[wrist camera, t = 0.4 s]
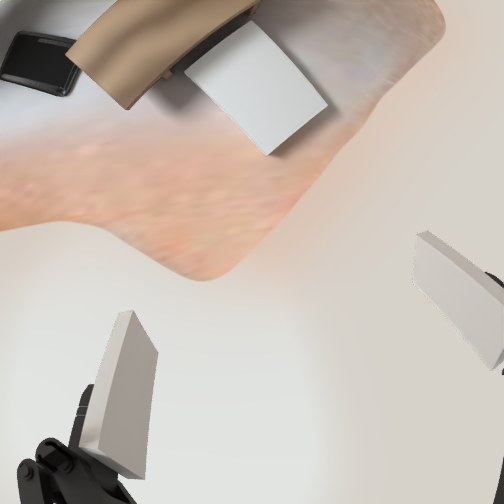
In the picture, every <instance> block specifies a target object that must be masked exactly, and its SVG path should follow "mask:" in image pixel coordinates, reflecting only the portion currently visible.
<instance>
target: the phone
mask: <svg viewBox="0 0 504 504" xmlns="http://www.w3.org/2000/svg"><path fill="white" fill-rule="evenodd" d="M76 41H77V40H76ZM76 41H75V40H73V39H67V38H64V37H56V36H51V35H46V34H39V33H33V32H26V31H20V32H18V33H17V34H16V35H15V37H14V39H13V41H12V43H11V45H10V47H9V49H8V52H7V54H6V56H5V59H4V61H3V63H2V66H1V68H0V80H3V81H7V82H11V83H15V84H18V85H22V86H25V87H29V88H32V89H35V90H39V91H42V92H45V93H48V94H52V95H55V96H59V97H63V96H65V95H66V94H67V93H68V92H69V90H70V88H71V86H72V83H73V81H74V79H75V77H76V74H77V72H78V70H79V67H78V66H77V65H76V64H75V63H74V62H73V61H71V60H70V59H69V58H68V57H67V56H66V55H65V54H66V53H67V52H68V50H69V49H70V48H71V47H72V46H73V45H74V44H75V42H76Z"/></svg>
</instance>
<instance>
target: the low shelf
mask: <svg viewBox="0 0 504 504" xmlns="http://www.w3.org/2000/svg"><path fill="white" fill-rule="evenodd" d="M260 2H261V0H118V1H117V2H115V3H114V4H113V5H112V6H111V7H110V8H109V9H108V10H107V11H106V12H104V13H103V14H102V15H101V16H100V17H99V18H98V19H97V20H96V21H95V22H94V23H93V24H92V25H91V26H90V27H89V28H88V29H87V30H86V31H85V33H84V34H83V35H82V36H81V37H80V38H79V39H78V40H77V41H76V42H75V44H74V45H73V46H72V47H71V48H70V49H69V50H68V52H67V53H66V54H65V55H66V56H67V57H68V58H69V59H70V60H71V61H73V62H74V63H75V64H76V65H77V66H78V67H79V68H80V69H81V70H82V71H84V72H85V73H86V74H87V75H88V76H89V77H90V78H91V79H92V80H93V81H95V82H96V83H97V84H98V85H99V86H100V87H101V88H102V89H103V90H104V91H105V92H106V93H108V94H109V95H110V96H111V97H112V98H113V99H114V100H115V101H116V102H117V103H118V104H119V105H121V106H122V107H123V108H124V109H125V110H129V109H130V108H131V107H132V106H133V105H134V104H135V103H136V102H137V101H138V100H139V99H140V98H141V97H142V96H143V95H144V94H145V93H146V92H147V90H148V89H149V88H150V87H151V86H153V85H154V84H155V83H156V82H157V81H158V80H159V79H160V78H161V77H164V78H165V79H166V80H167V81H169V80H170V79H171V78H172V77H173V76H174V75H173V74H172V72H171V71H170V70H169V69H170V68H172V67H173V66H174V65H175V64H176V63H177V62H178V61H179V60H181V59H182V58H183V57H184V56H185V55H186V54H188V53H189V52H190V51H191V50H192V49H194V48H195V47H196V46H197V45H198V44H200V43H201V42H202V41H203V40H205V39H206V38H207V37H209V36H210V35H211V34H213V33H214V32H215V31H217V30H218V29H219V28H221V27H222V26H223V25H225V24H226V23H228V22H229V21H231V20H232V19H233V18H235V17H236V16H238V15H239V14H241V13H242V12H244V13H245V14H246V15H247V16H248V17H249V16H251V15H253V14H254V13H255V12H256V10H257V8H258V6H259V4H260Z"/></svg>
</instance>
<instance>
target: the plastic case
mask: <svg viewBox="0 0 504 504" xmlns="http://www.w3.org/2000/svg"><path fill="white" fill-rule="evenodd" d="M184 72H185V74H186V75H187V76H188V77H189V78H190V79H191V80H192V81H193V82H194V83H195V84H196V85H197V86H198V87H199V88H200V89H201V90H202V91H203V92H204V93H205V94H206V95H207V96H208V97H209V98H210V99H211V100H212V101H213V102H214V103H215V104H216V105H217V106H218V107H219V108H220V109H221V110H222V111H223V112H224V113H225V114H226V115H227V116H228V117H229V118H230V119H231V120H232V121H233V122H234V123H235V124H236V125H237V126H238V127H239V128H240V129H241V130H242V131H243V133H244V134H245V135H246V136H247V137H248V138H249V139H250V140H251V141H252V142H253V143H254V144H255V146H256V147H257V148H258V149H259V150H260V151H261V152H262V153H263V154H264V155H266V156H267V155H268V154H270V153H271V152H272V151H273V150H274V149H275V148H277V147H278V146H279V145H280V144H281V143H283V142H284V141H285V140H286V139H287V138H288V137H290V136H291V135H292V134H293V133H294V132H296V131H297V130H298V129H299V128H301V127H302V126H303V125H304V124H305V123H307V122H308V121H309V120H310V119H312V118H313V117H314V116H315V115H317V114H318V113H319V112H320V111H322V110H323V109H324V108H326V107H327V106H328V105H327V103H326V102H325V101H324V99H323V98H322V97H321V96H320V94H319V93H318V92H317V91H316V89H315V88H314V87H313V86H312V84H311V83H310V82H309V81H308V80H307V78H306V77H305V76H304V75H303V74H302V72H301V71H300V70H299V69H298V68H297V67H296V66H295V64H294V63H293V62H292V61H291V60H290V59H289V58H288V57H287V56H286V54H285V53H284V52H283V51H282V50H281V49H280V48H279V47H278V46H277V45H276V44H275V43H274V42H273V41H272V40H271V39H270V38H269V37H268V36H267V35H266V34H265V33H264V32H263V31H262V30H261V29H260V28H259V27H258V26H257V25H256V24H255V23H254V22H253V21H252V20H251V21H249V22H248V23H246V24H245V25H243V26H242V27H240V28H239V29H238V30H236V31H235V32H233V33H232V34H231V35H229V36H228V37H226V38H225V39H224V40H222V41H221V42H220V43H218V44H217V45H216V46H214V47H213V48H212V49H211V50H209V51H208V52H207V53H206V54H204V55H203V56H202V57H201V58H199V59H198V60H197V61H196V62H195V63H193V64H192V65H191V66H190V67H189V68H188V69H187V70H185V71H184Z"/></svg>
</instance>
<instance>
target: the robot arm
mask: <svg viewBox="0 0 504 504" xmlns="http://www.w3.org/2000/svg"><path fill="white" fill-rule="evenodd" d="M412 283H413V284H414V285H415V286H416V287H417V288H418V289H419V290H420V291H421V292H422V293H423V294H424V295H425V296H426V297H427V298H428V299H429V300H430V302H431V303H432V304H433V305H434V306H435V307H436V308H437V309H438V310H439V311H440V312H441V313H442V314H443V315H444V316H445V317H446V319H447V320H448V321H449V322H450V323H451V324H452V325H453V326H454V328H455V329H456V330H457V331H458V332H459V333H460V334H461V335H462V337H463V338H464V339H465V340H466V341H467V342H468V344H469V345H470V346H471V347H472V348H473V349H474V351H475V352H476V353H477V354H478V356H479V357H480V358H481V359H482V360H483V362H484V363H485V364H486V365H487V367H488V368H489V369H490V371H492V370H493V369H494V368H496V367H497V366H498V365H499V364H501V363H502V362H503V360H504V284H503V282H502V281H501V280H499V279H498V278H497V277H496V276H494V275H492V274H490V273H487V272H483V271H482V270H481V269H479V268H478V267H477V266H475V265H474V264H473V263H472V262H470V261H469V260H468V259H466V258H465V257H464V256H462V255H461V254H460V253H458V252H457V251H455V250H454V249H453V248H452V247H450V246H449V245H447V244H446V243H445V242H443V241H442V240H440V239H439V238H437V237H436V236H434V235H433V234H432V233H430V232H429V231H425V232H422V233H419V234H416V242H415V256H414V268H413V277H412ZM157 358H158V352H157V350H156V348H155V347H154V345H153V343H152V342H151V340H150V338H149V337H148V335H147V333H146V332H145V330H144V328H143V327H142V325H141V323H140V322H139V320H138V318H137V316H136V314H135V312H134V311H133V310H130V311H126V312H121V313H118V316H117V319H116V321H115V324H114V327H113V330H112V333H111V335H110V338H109V341H108V344H107V347H106V350H105V353H104V356H103V359H102V362H101V365H100V368H99V371H98V374H97V378H96V381H95V384H90V385H88V387H87V388H86V389H85V391H84V392H83V394H82V396H81V399H80V403H79V408H78V410H77V413H76V415H77V417H75V421H74V425H73V428H72V432H71V436H70V441H69V445H68V447H66V446H65V445H64V444H62V443H61V442H59V440H57V439H55V438H47V439H45V440H43V441H42V442H41V443H40V444H39V446H38V447H37V449H36V454H35V458H36V462H35V461H34V460H32V459H25V460H23V461H22V462H21V463H20V464H19V466H18V469H17V480H18V488H19V495H20V501H21V504H53V503H55V504H137V503H136V502H135V501H134V499H133V498H132V497H131V495H130V494H129V493H128V491H127V490H126V489H125V487H124V486H123V484H122V483H121V482H120V481H118V480H117V479H118V474H120V475H122V476H124V477H125V478H127V479H143V480H144V479H145V470H146V453H147V442H148V430H149V420H150V411H151V402H152V394H153V386H154V379H155V371H156V364H157ZM502 375H504V369H503V370H502ZM493 504H504V458H503V464H502V469H501V474H500V479H499V483H498V487H497V491H496V495H495V499H494V503H493Z"/></svg>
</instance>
